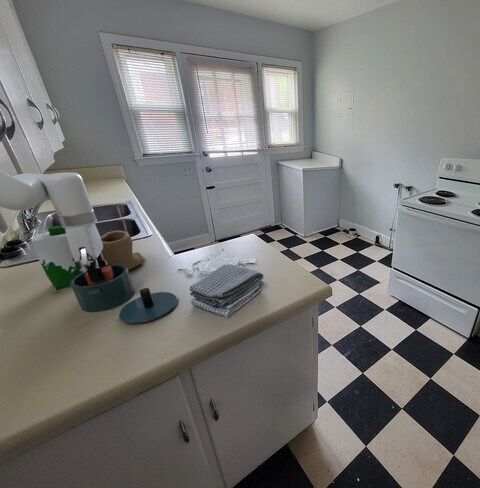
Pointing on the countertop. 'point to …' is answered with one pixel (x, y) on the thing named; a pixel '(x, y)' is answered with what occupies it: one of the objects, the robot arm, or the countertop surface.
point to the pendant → (218, 262)
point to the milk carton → (56, 257)
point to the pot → (103, 290)
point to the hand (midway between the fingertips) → (100, 275)
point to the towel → (226, 289)
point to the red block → (106, 272)
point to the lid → (148, 307)
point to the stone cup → (120, 250)
